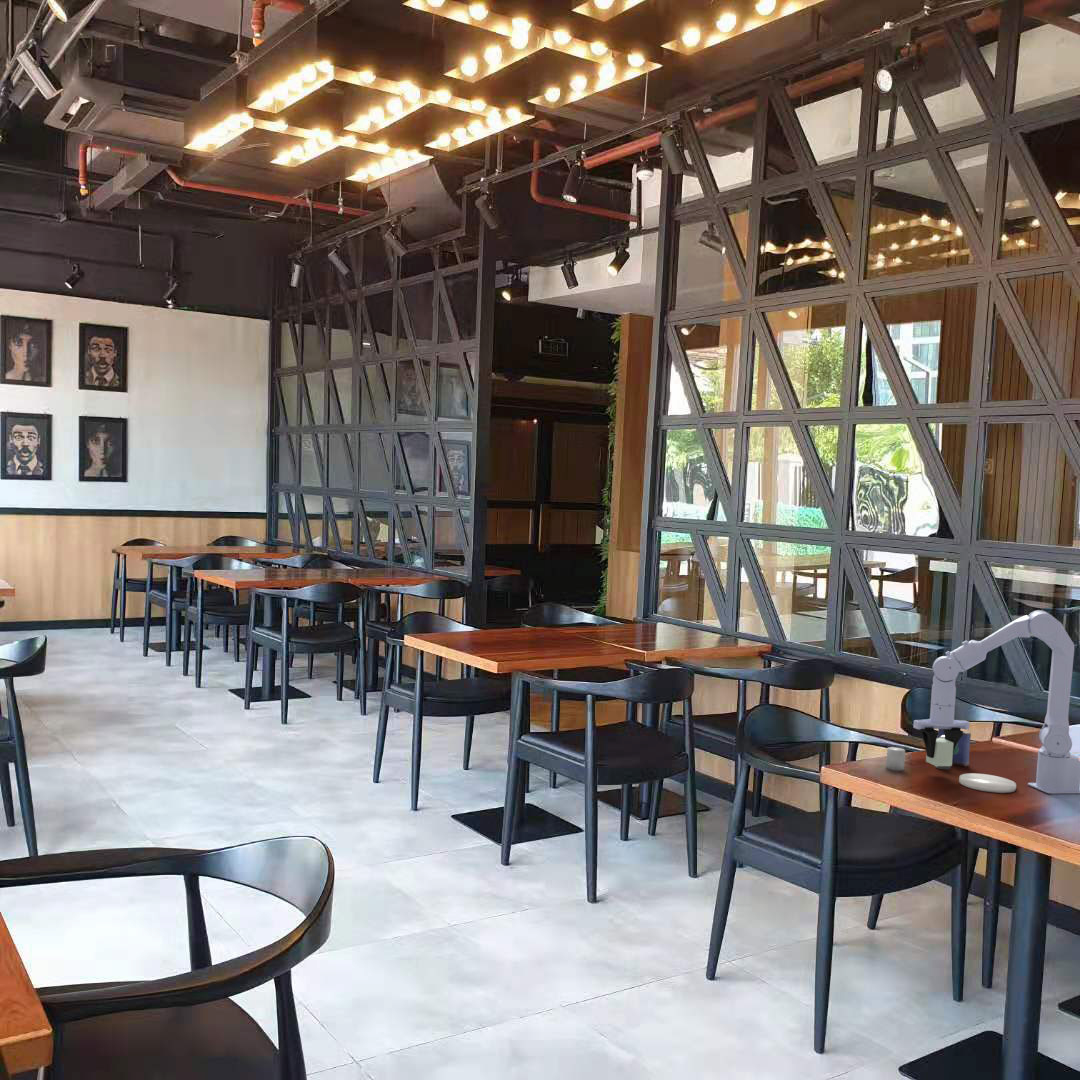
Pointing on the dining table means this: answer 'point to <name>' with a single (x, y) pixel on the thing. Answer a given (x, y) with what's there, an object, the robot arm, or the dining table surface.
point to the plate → (987, 783)
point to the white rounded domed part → (895, 758)
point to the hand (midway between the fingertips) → (939, 757)
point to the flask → (960, 749)
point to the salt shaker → (943, 766)
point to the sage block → (942, 753)
